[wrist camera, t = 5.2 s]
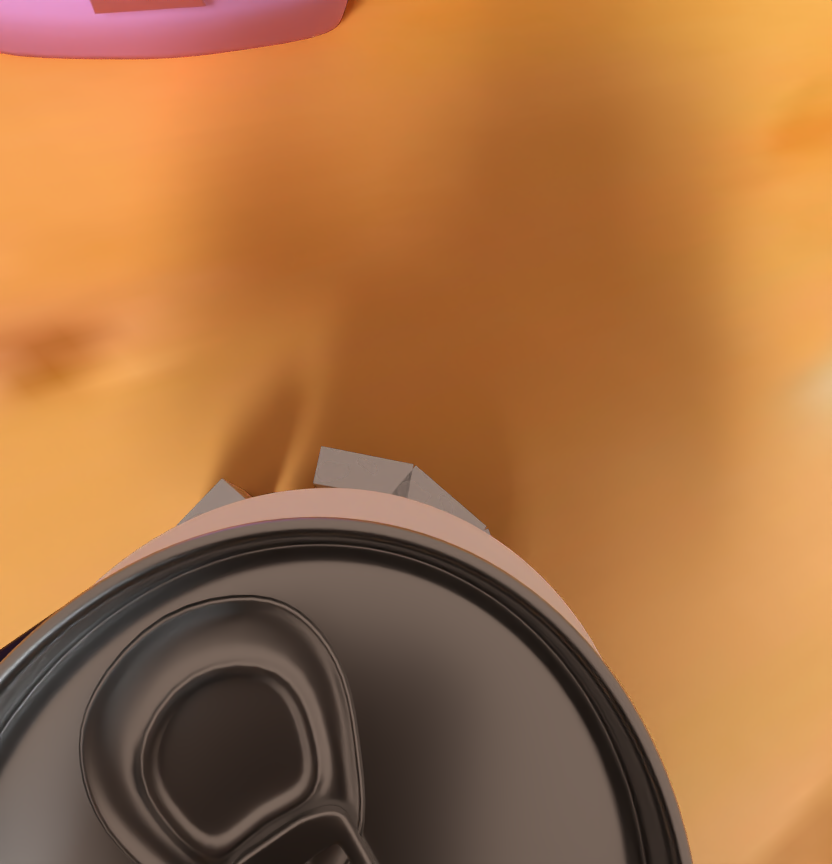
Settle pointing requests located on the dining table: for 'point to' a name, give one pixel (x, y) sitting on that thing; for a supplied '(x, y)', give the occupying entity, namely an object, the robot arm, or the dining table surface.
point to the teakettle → (158, 26)
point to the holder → (356, 484)
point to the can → (325, 704)
